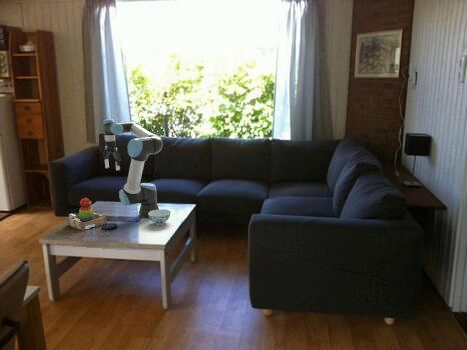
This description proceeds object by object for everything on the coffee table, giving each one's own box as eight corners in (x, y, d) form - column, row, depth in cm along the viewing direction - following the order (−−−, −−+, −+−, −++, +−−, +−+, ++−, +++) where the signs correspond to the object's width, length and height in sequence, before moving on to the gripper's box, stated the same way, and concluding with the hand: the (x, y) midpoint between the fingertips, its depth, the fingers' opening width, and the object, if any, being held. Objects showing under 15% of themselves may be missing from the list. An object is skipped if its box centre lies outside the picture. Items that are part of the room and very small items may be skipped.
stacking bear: (89, 226, 278) (87, 201, 274) (76, 225, 280) (73, 200, 276) (98, 221, 288) (96, 196, 284) (85, 220, 290) (82, 195, 286)
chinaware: (174, 220, 290) (174, 210, 288) (165, 228, 276) (164, 216, 274) (154, 219, 294) (154, 208, 292) (144, 226, 280) (144, 215, 278)
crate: (106, 223, 285) (106, 216, 284) (82, 231, 272) (81, 223, 271) (91, 218, 297) (91, 211, 296) (68, 225, 283) (67, 217, 282)
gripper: (124, 141, 300) (126, 170, 304) (104, 138, 315) (107, 166, 320) (116, 142, 294) (118, 171, 299) (96, 139, 310) (98, 167, 314)
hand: (112, 168), depth 309 cm, fingers open, 13 cm apart
